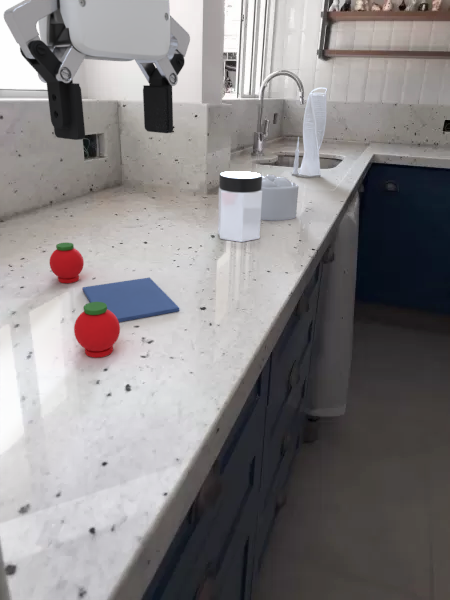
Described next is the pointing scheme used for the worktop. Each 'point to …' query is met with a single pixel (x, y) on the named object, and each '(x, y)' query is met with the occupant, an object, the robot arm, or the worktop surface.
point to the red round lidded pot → (97, 329)
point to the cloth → (132, 299)
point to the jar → (239, 206)
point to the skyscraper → (312, 135)
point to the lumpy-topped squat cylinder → (278, 198)
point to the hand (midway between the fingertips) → (118, 134)
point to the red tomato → (66, 263)
